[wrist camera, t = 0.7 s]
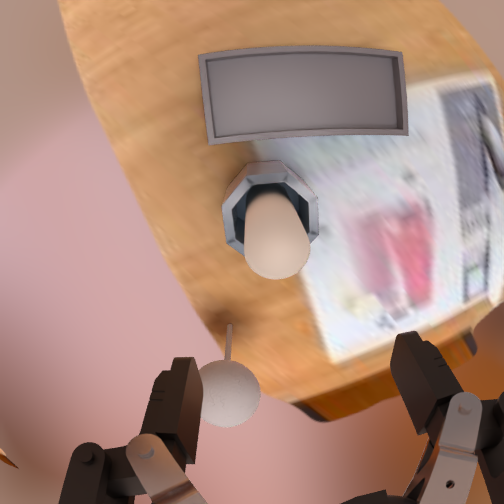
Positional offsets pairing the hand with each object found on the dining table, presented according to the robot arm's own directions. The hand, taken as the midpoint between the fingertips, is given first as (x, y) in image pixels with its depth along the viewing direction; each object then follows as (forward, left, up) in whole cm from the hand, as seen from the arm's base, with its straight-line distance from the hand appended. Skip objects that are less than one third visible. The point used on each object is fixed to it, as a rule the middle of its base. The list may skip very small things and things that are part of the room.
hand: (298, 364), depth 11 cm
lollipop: (+6, +16, -23) cm, 29 cm away
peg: (0, 0, -22) cm, 22 cm away
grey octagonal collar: (0, 0, -23) cm, 23 cm away
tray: (-5, -11, -23) cm, 26 cm away
